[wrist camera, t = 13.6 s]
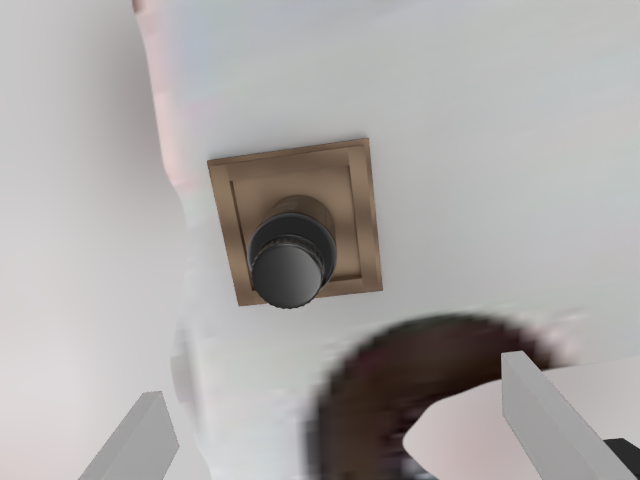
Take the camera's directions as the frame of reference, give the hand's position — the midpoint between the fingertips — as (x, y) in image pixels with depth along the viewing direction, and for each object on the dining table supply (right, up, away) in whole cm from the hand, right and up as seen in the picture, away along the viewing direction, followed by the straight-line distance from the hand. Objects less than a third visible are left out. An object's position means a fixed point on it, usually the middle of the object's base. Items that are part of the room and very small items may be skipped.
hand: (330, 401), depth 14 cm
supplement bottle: (-2, +7, +21) cm, 22 cm away
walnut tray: (-2, +8, +22) cm, 23 cm away
